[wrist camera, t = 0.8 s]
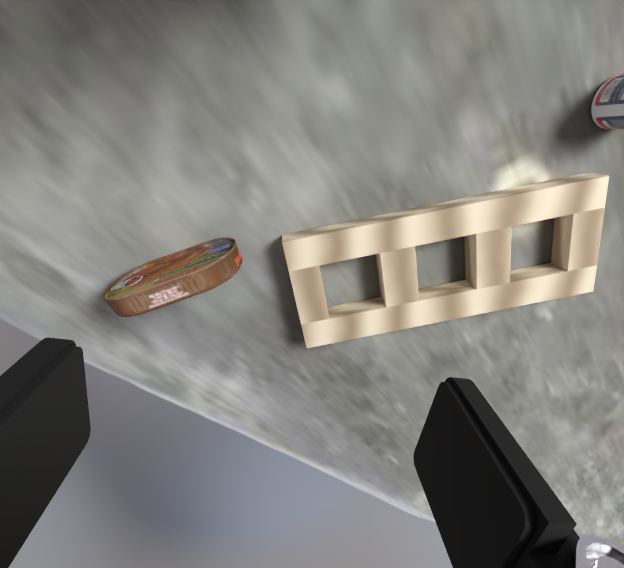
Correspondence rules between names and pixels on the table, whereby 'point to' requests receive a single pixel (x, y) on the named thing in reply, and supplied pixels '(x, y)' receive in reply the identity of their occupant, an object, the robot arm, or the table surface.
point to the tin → (174, 277)
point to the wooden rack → (478, 258)
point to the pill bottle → (609, 104)
